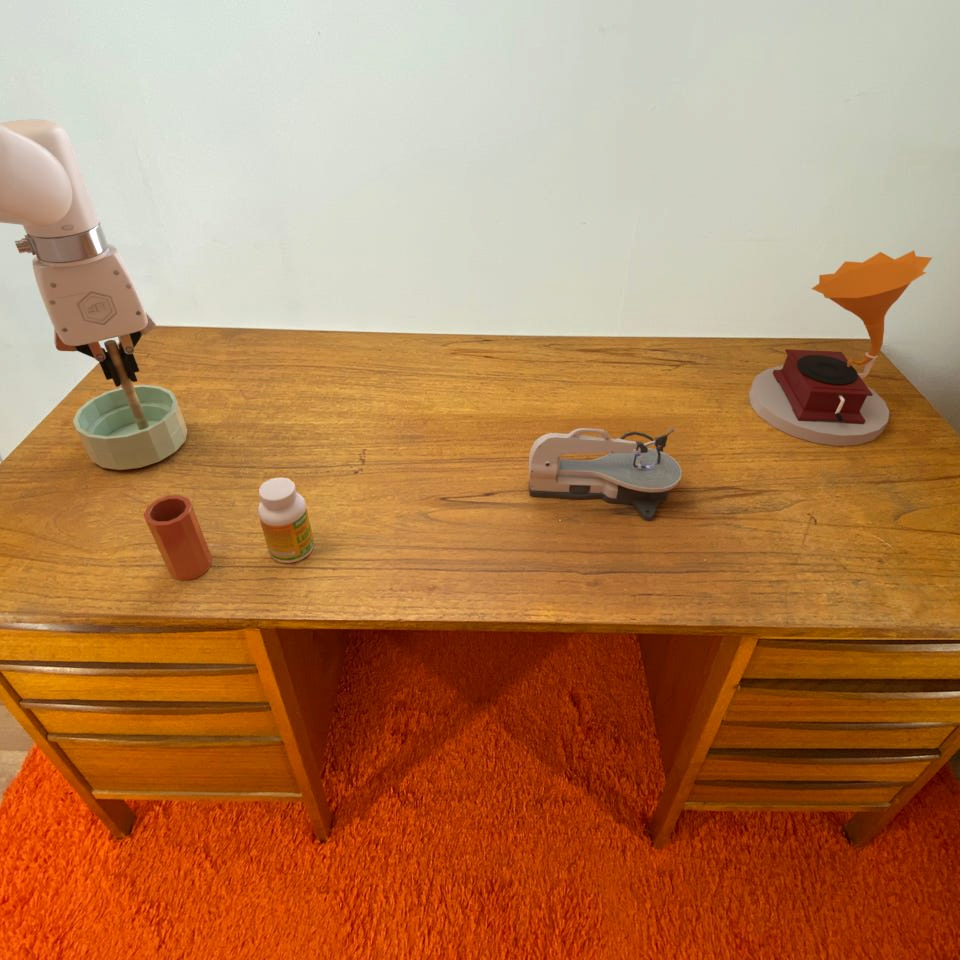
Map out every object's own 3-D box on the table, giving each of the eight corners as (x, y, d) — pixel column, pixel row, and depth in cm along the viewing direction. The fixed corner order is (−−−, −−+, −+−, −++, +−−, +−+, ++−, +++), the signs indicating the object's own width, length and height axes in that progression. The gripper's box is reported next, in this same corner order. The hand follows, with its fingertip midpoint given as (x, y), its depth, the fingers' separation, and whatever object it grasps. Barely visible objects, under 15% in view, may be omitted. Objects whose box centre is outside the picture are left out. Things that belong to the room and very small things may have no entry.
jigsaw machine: (534, 453, 76) (531, 400, 85) (528, 517, 83) (526, 462, 91) (703, 458, 76) (682, 404, 84) (683, 522, 83) (666, 466, 91)
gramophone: (855, 378, 111) (922, 232, 94) (907, 449, 95) (998, 289, 79) (735, 372, 112) (781, 226, 95) (767, 442, 96) (828, 282, 80)
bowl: (100, 485, 86) (82, 449, 82) (82, 436, 95) (66, 402, 91) (199, 452, 92) (187, 417, 88) (174, 409, 100) (163, 375, 96)
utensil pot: (175, 586, 73) (150, 531, 67) (164, 560, 76) (139, 505, 70) (217, 569, 75) (196, 513, 69) (205, 544, 78) (184, 489, 72)
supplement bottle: (307, 565, 76) (293, 505, 70) (263, 563, 76) (245, 503, 70) (319, 533, 80) (307, 474, 74) (277, 531, 80) (261, 471, 74)
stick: (143, 440, 91) (105, 345, 81) (141, 435, 92) (102, 341, 82) (153, 436, 92) (116, 343, 82) (151, 432, 93) (114, 338, 83)
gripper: (-5, 267, 68) (65, 410, 80) (148, 239, 75) (191, 375, 87) (-11, 245, 73) (56, 384, 85) (134, 221, 80) (177, 352, 92)
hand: (124, 378), depth 86 cm, fingers closed on stick, 1 cm apart
